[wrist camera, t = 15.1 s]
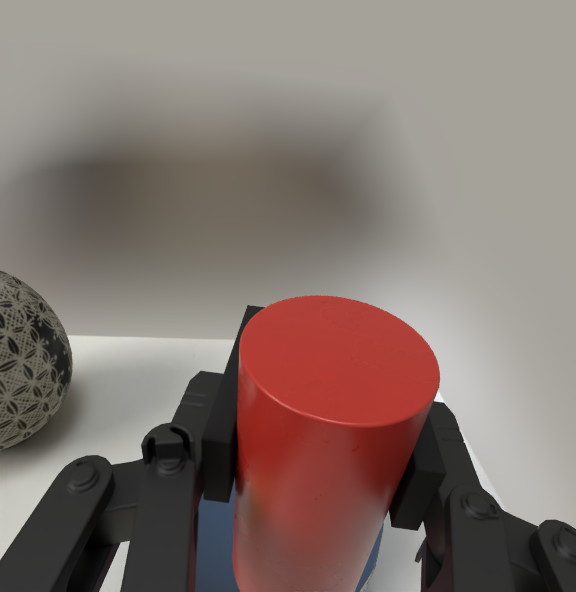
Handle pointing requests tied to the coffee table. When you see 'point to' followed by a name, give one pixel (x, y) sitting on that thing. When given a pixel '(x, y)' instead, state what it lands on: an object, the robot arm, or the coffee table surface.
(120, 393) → the coffee table surface
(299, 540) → the cylinder
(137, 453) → the coffee table surface
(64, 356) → the decorative egg
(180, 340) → the coffee table surface
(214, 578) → the dish
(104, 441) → the coffee table surface
